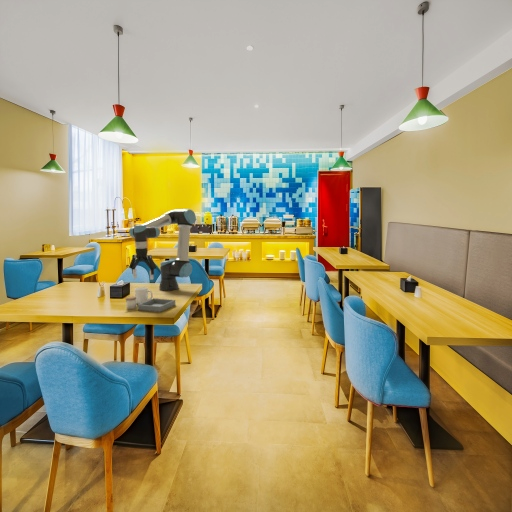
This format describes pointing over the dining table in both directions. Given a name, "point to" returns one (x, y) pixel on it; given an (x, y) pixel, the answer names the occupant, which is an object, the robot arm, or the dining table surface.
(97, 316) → the dining table surface
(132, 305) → the sugar pot
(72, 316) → the dining table surface
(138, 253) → the robot arm
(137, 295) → the cup
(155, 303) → the bus tub
